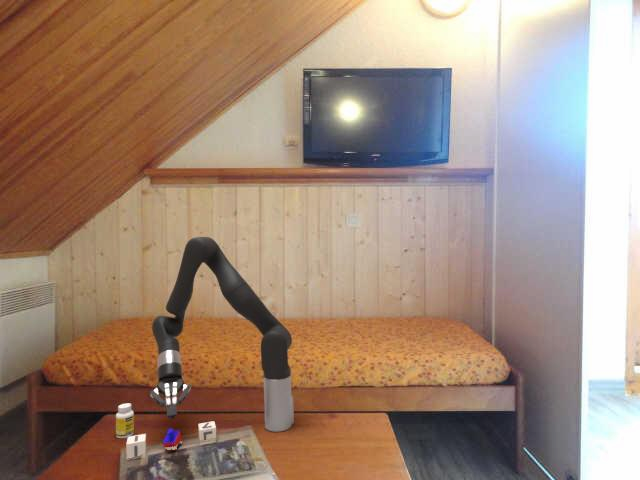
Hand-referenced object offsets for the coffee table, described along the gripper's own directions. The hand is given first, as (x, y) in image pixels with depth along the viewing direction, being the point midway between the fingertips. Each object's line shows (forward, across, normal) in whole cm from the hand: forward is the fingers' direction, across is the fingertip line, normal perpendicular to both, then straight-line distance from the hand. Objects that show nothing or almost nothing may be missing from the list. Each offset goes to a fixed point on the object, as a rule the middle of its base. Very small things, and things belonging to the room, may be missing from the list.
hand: (172, 417), depth 124 cm
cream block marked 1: (+7, -10, +7) cm, 14 cm away
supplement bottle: (-5, -14, +18) cm, 23 cm away
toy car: (+7, 0, +7) cm, 10 cm away
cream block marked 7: (+7, +10, +6) cm, 14 cm away
